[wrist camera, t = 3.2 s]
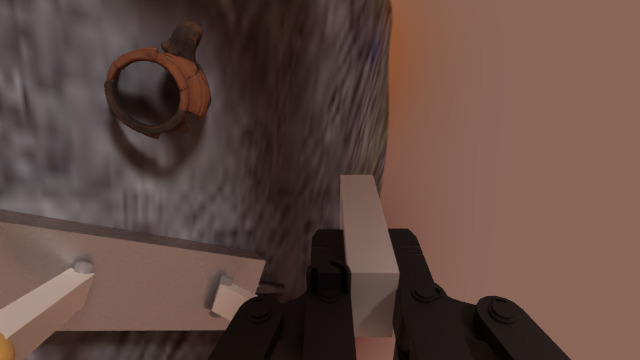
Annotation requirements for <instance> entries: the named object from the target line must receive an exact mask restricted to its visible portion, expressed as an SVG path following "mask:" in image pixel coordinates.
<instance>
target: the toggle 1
mask: <svg viewBox="0 0 640 360" xmlns="http://www.w3.org/2000/svg"><path fill="white" fill-rule="evenodd" d="M94 265H95V264H94V263H92V262H89V261H77V262H76V264H75V267H74V269H72V268H70V269H68V270H67V271H65V272H63V273H62V274H60V275H58V276H56V277H55V278H53V279H51V280H50V281H48V282H46V283H45V284H43V285H41V286H39V287H38V288H36V289H34V290H33V291H31V292H29V293H28V294H26V295H24V296H23V297H21V298H19V299H17V300H16V301H14V302H12V303H11V304H9V305H7V306H6V307H4V308H2V309H0V360H23V359H25V358H26V357H27V356H28V355H29V354H30V353H31V352H32V351H34V350H35V349H36V348H37V347H38V346H39V345H40V344H41V343H43V342H44V341H45V340H46V339H47V338H48V337H49V336H51V335H52V334H53V333H54V332H55V331H56V330H57V329H58V328H60V327H61V326H62V325H63V324H64V323H65V322H66V321H67V320H69V319H70V318H71V317H72V316H73V315H74V314H77V313H78V311H79V310H80V309H81V308H82V307H83V306H84V303H85V300H86V298H87V295H88V292H89V289H90V286H91V284H92V281H93V278H94V275H95V274H94V273H92V271H93V268H94Z"/></svg>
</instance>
